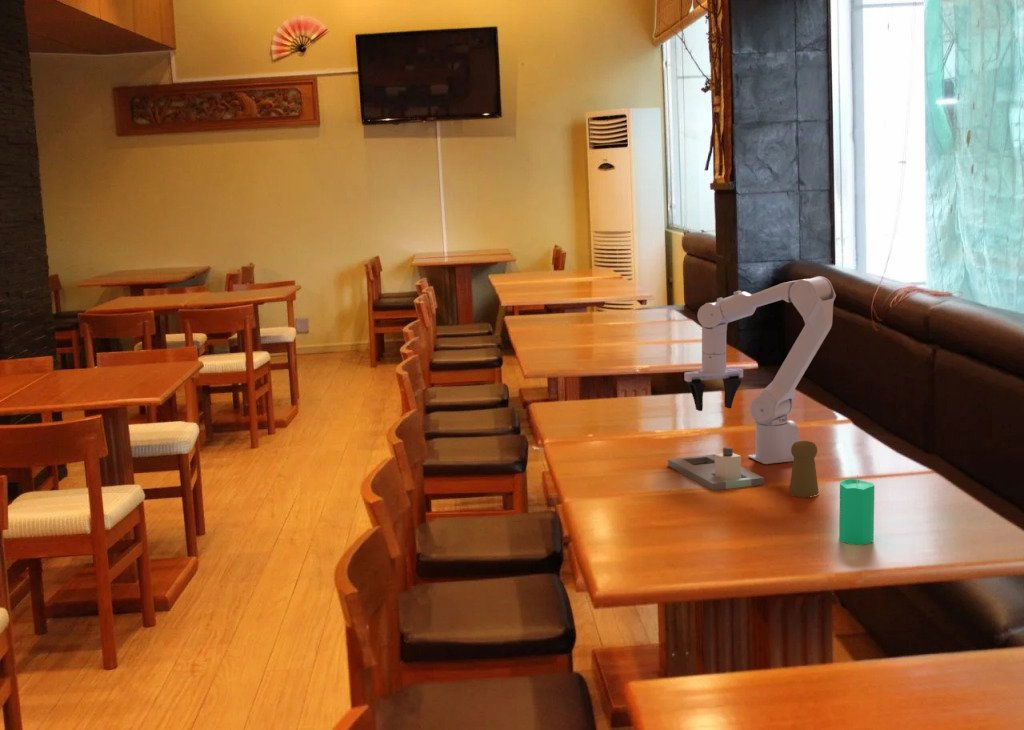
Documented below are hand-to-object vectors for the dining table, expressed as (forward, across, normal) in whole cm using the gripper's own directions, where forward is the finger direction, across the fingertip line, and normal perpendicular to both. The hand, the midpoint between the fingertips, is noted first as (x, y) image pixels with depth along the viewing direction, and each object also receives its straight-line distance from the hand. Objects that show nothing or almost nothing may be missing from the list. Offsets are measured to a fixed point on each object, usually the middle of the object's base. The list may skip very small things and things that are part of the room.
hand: (713, 408), depth 275 cm
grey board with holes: (+10, +10, +20) cm, 24 cm away
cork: (+10, 0, +41) cm, 42 cm away
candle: (+10, +7, +71) cm, 72 cm away
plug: (+10, +10, +26) cm, 30 cm away
